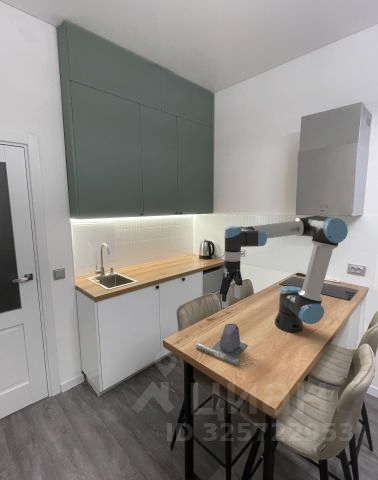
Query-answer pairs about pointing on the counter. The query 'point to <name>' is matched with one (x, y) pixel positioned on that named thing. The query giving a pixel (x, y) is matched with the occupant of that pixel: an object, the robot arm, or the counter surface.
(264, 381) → the counter surface
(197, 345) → the rail
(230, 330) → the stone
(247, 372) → the counter surface
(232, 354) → the mat
